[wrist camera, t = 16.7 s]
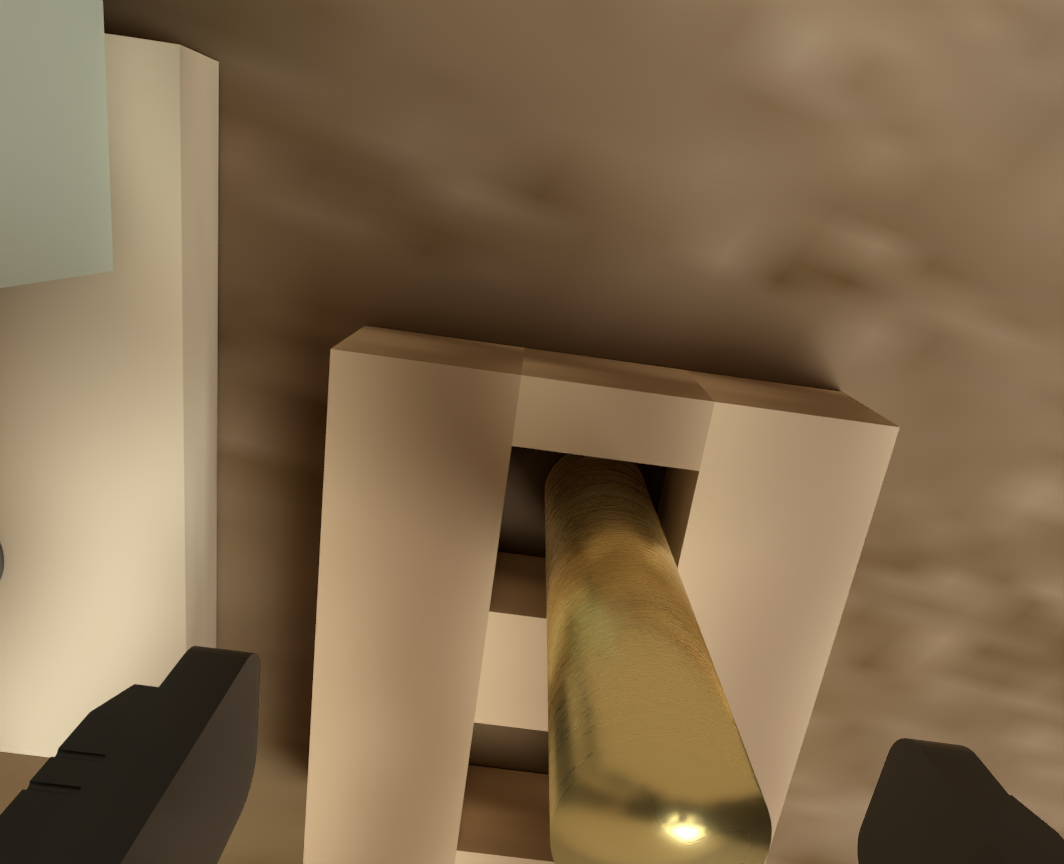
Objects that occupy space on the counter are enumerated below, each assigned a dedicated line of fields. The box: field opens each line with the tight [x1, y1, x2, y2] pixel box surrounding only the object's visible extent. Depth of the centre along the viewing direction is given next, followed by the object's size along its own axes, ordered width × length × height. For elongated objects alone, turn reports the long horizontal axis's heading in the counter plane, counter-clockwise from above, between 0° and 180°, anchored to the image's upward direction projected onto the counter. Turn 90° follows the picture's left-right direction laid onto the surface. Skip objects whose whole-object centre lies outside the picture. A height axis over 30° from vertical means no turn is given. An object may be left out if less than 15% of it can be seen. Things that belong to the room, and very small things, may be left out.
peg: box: [545, 453, 772, 864], centre depth 11 cm, size 2×2×9 cm
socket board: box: [303, 326, 900, 864], centre depth 15 cm, size 10×12×2 cm
